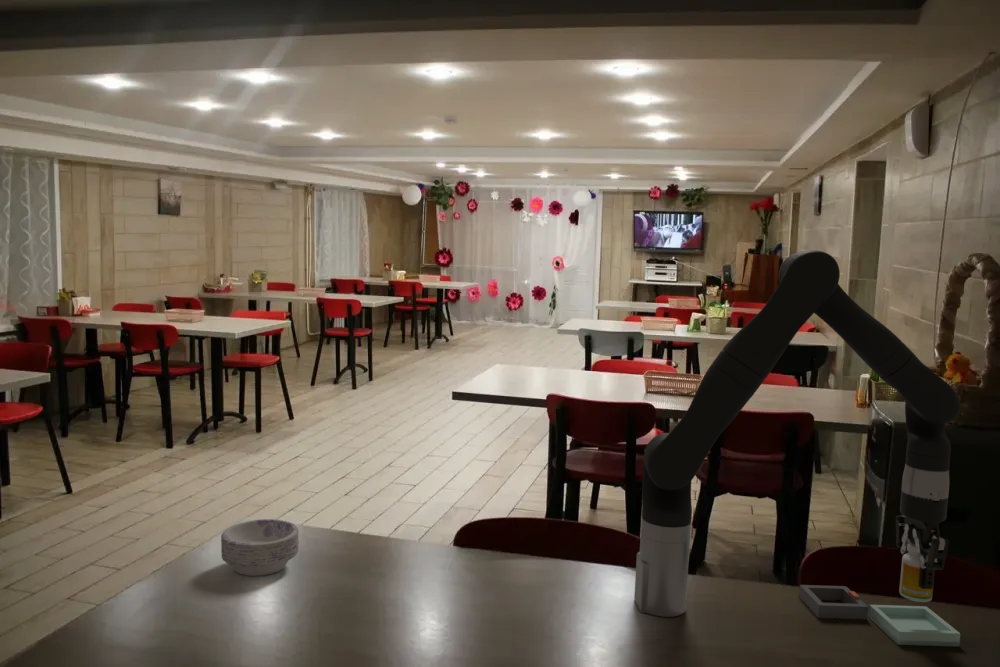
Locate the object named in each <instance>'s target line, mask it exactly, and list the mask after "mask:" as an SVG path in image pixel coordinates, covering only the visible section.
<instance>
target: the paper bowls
mask: <svg viewBox="0 0 1000 667" xmlns="http://www.w3.org/2000/svg"><path fill="white" fill-rule="evenodd" d="M220 537H221V538H220V542H221V545H220V546H221V559H222V561H224V562H225V564H228V565H231V566H232V568H233V569H234V571H235V572H237V573H238V574H241V575H243V576H248V577H249V576H250V577H258V576H259V577H262V576H269V575H272V574H275V573H278V572H279V571H282V570H283V569H284V568H285V567H286V566H287V564H288V562H289V561H290V560H292V559H293V558H294V557H296V556H297V555H298V553H299V547H300V546H299V543H300V542H299V541H300V540H299V528H298V527H297V525H296V524H295V523H292V522H290V521H287V520H281V519H272V518H271V519H269V518H268V519H267V518H266V519H264V518H262V519H253V520H247V521H242V522H239V523H236V524H233V525H231V526H229V527H227V528H226V529H225V530H224V531H223V532H222V533H221V536H220Z"/></svg>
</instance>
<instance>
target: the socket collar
mask: <svg viewBox="0 0 1000 667" xmlns="http://www.w3.org/2000/svg"><path fill="white" fill-rule="evenodd" d="M798 589H799V590H798V599H800V600H801V601H802V602H803V603H804V604H805V605H806V607H809V610H810V611H811V612H812V613H813V614H814V616H815V617H816V618H817V619H834V618H836V619H838V618H839V619H840V620H841V619H842V620H868V616H869V605H867V603H865V602H864V601H863V600H862V599H860V595H859V594H858V593H856V592H855V591H854V590H851V589H850V588H849V587H847V586H846V585H845V586H844V585H816V584H815V585H814V584H813V585H812V584H799V588H798ZM835 600H841V601H840V602H823V601H835ZM841 602H842V603H841ZM836 619H835V620H836ZM839 619H838V620H839Z"/></svg>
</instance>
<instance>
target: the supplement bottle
mask: <svg viewBox="0 0 1000 667" xmlns="http://www.w3.org/2000/svg"><path fill="white" fill-rule="evenodd" d="M922 549H923V550H925V551H930V549H929V548H922ZM907 551H908V553H906V554H904V555H903V554H902V558H901V569H900V577H899V578H900V579H899V588H898V589H899V590H898V592H899V594H900V596H901V597H903V598H905V599H907V600H910V601H913V602H917V603H926V602H927V603H928V602H931V601H932V599H933V592H934V587H933V588H932V589H922V588H921V587H919V576H920V567H921V563H920V556H919V555H918V554H917V553H916V545H915V544H912V543H911V542H909V543H908V546H907ZM927 560H928V555H926V562H927ZM935 571H936V570H935ZM935 571H934V573H935ZM934 581H935V580H934ZM934 581H933V584H934V583H935V582H934Z"/></svg>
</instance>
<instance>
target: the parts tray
mask: <svg viewBox="0 0 1000 667" xmlns="http://www.w3.org/2000/svg"><path fill="white" fill-rule="evenodd" d="M867 618H869V619H870V620H871V621H872V622H873V623H875V625H876V626H878V627H879V628H880V629H881V630H882V631H883V632H884V633H885V635H887V636H888V637H890V639H891V640H892V641H894V643H895V644H896V645H899V646H932V647H960V643H961V633H960V632H959V631H958V630H957V629H956V628H954V627H953V626H952V625H950V624H949V623H948V622H947V621H946V620H944V619H943V618H941V616H939V615H938V614H936V613H935V612H934V611H933V610H932V609H930V608H929V607H928V606H924V605H921V606H920V605H896V604H895V605H892V604H890V605H889V604H869V605H868V616H867Z"/></svg>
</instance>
